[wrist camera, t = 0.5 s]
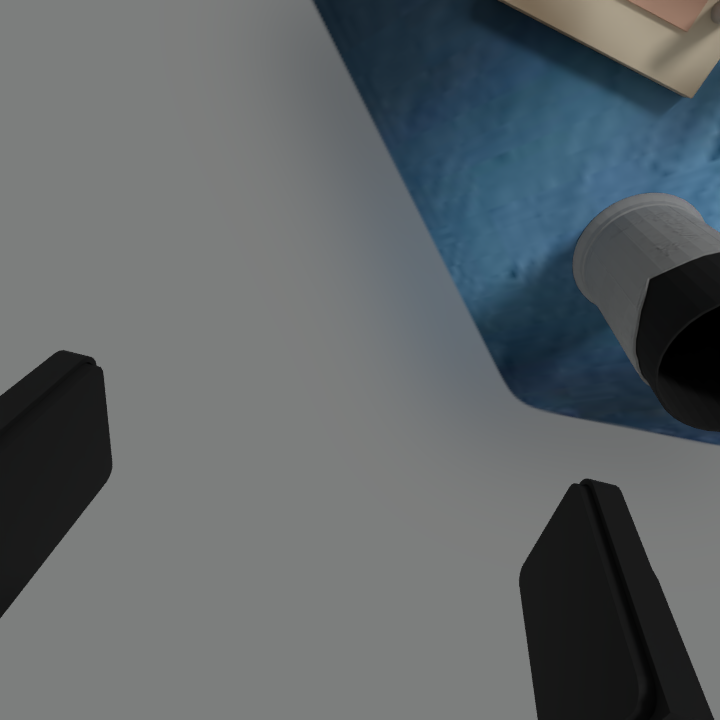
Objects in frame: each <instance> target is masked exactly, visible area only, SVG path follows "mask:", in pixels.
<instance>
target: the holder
mask: <svg viewBox="0 0 720 720" xmlns="http://www.w3.org/2000/svg"><path fill="white" fill-rule="evenodd" d="M573 274H574V279H575V281H576V284H577V286H578V288H579V289H580V291H581V292H582V294H583V295H584V296H585V297H586V298H587V299H588V300H589V301H590V302H592V303H593V304H595V305H597V306H598V308H599V310H600V311H601V313H602V315H603V316H604V318H605V320H606V321H607V323H608V325H609V326H610V328H611V330H612V331H613V333H614V335H615V336H616V338H617V339H618V341H619V343H620V344H621V346H622V348H623V349H624V351H625V353H626V354H627V356H628V358H629V359H630V361H631V363H632V364H633V366H634V368H635V369H636V371H637V373H638V374H639V376H640V377H641V379H642V380H643V381H644V382H645V383H646V384H648V385H649V386H650V387H651V388H652V390H653V392H654V393H655V395H656V396H657V398H658V400H659V401H660V403H661V404H662V406H663V407H664V409H665V410H666V411H667V412H668V413H669V414H670V415H671V416H673V417H674V418H675V419H677V420H679V421H680V422H682V423H684V424H686V425H689V426H691V427H694V428H698V429H702V430H707V431H717V432H720V233H719V232H718V231H716V230H715V229H713V228H712V227H710V226H709V225H707V224H706V223H705V222H704V220H703V218H702V216H701V214H700V213H699V212H698V211H697V210H696V209H695V208H694V206H692V205H691V204H690V203H688V202H687V201H685V200H684V199H681V198H679V197H676V196H674V195H669V194H664V193H645V194H638V195H635V196H631V197H628V198H625V199H623V200H621V201H618V202H616V203H614V204H612V205H611V206H609V207H608V208H606V209H605V210H603V211H602V212H601V213H600V214H599V215H597V216H596V217H595V218H594V219H593V220H592V221H591V222H590V224H589V225H588V226H587V227H586V228H585V230H584V231H583V233H582V235H581V236H580V238H579V240H578V243H577V245H576V247H575V251H574V256H573Z"/></svg>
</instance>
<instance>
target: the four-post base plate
mask: <svg viewBox="0 0 720 720" xmlns="http://www.w3.org/2000/svg"><path fill="white" fill-rule="evenodd" d="M498 1H500V2H502V3H504V4H506V5H508V6H510V7H512V8H514V9H516V10H518V11H520V12H521V13H523V14H525V15H527V16H529V17H531V18H533V19H535V20H537V21H539V22H541V23H543V24H545V25H546V26H548V27H550V28H552V29H554V30H556V31H558V32H560V33H562V34H564V35H566V36H568V37H570V38H571V39H573V40H575V41H577V42H579V43H581V44H583V45H585V46H587V47H589V48H591V49H593V50H594V51H596V52H598V53H600V54H602V55H604V56H606V57H608V58H610V59H612V60H614V61H616V62H618V63H619V64H621V65H623V66H625V67H627V68H629V69H631V70H633V71H635V72H637V73H639V74H641V75H642V76H644V77H646V78H648V79H650V80H652V81H654V82H656V83H658V84H660V85H662V86H664V87H666V88H667V89H669V90H671V91H673V92H675V93H677V94H679V95H681V96H683V97H687V98H693V96H694V95H695V93H696V92H697V90H698V89H699V88H700V86H701V85H702V83H703V82H704V80H705V79H706V78H707V76H708V75H709V73H710V72H711V71H712V69H713V68H714V66H715V65H716V63H717V62H718V61H719V59H720V0H498Z"/></svg>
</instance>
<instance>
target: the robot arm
mask: <svg viewBox="0 0 720 720" xmlns="http://www.w3.org/2000/svg"><path fill="white" fill-rule="evenodd" d="M111 470H112V455H111V445H110V436H109V425H108V416H107V405H106V395H105V386H104V376H103V370H102V369H101V367H98V366H97V365H96V361H95V360H94V359H93V358H92V357H89V356H85V355H81V354H77V353H73V352H69V351H65V350H62V351H58V352H56V353H55V354H53V355H52V356H51V357H49V358H48V359H47V360H46V361H44V362H43V363H42V364H41V365H39V366H38V367H37V368H35V369H34V370H33V371H32V372H30V373H29V374H28V375H27V376H25V377H24V378H23V379H21V380H20V381H19V382H18V383H16V384H15V385H14V386H12V387H11V388H10V389H9V390H7V391H6V392H5V393H4V394H2V395H1V396H0V618H1V617H2V615H3V614H4V613H5V611H6V610H7V609H8V608H9V606H10V605H11V604H12V603H13V601H14V600H15V599H16V597H17V596H18V595H19V594H20V592H21V591H22V590H23V588H24V587H25V586H26V585H27V583H28V582H29V581H30V579H31V578H32V577H33V576H34V574H35V573H36V572H37V570H38V569H39V568H40V567H41V565H42V564H43V563H44V561H45V560H46V559H47V557H48V556H49V555H50V554H51V552H52V551H53V550H54V548H55V547H56V546H57V545H58V544H59V542H60V541H61V540H62V538H63V537H64V536H65V535H66V533H67V532H68V531H69V529H70V528H71V527H72V525H73V524H74V523H75V522H76V520H77V519H78V518H79V516H80V515H81V514H82V513H83V511H84V510H85V509H86V507H87V506H88V505H89V504H90V502H91V501H92V500H93V499H94V497H95V496H96V495H97V493H98V492H99V491H100V490H101V488H102V487H103V486H104V484H105V483H106V482H107V480H108V478H109V476H110V474H111ZM519 587H520V594H521V601H522V608H523V615H524V623H525V630H526V636H527V644H528V651H529V659H530V666H531V673H532V680H533V688H534V695H535V702H536V710H537V717H538V720H714V718H713V716H712V713H711V711H710V708H709V706H708V703H707V701H706V698H705V696H704V693H703V691H702V688H701V686H700V683H699V681H698V678H697V676H696V673H695V671H694V668H693V666H692V663H691V661H690V658H689V656H688V653H687V651H686V648H685V646H684V643H683V641H682V638H681V636H680V633H679V631H678V628H677V626H676V623H675V621H674V618H673V616H672V613H671V611H670V608H669V606H668V603H667V601H666V598H665V596H664V593H663V591H662V588H661V586H660V583H659V581H658V579H657V577H656V575H655V573H654V571H653V570H652V568H651V566H650V563H649V560H648V558H647V555H646V553H645V550H644V547H643V545H642V542H641V540H640V537H639V535H638V532H637V530H636V527H635V525H634V522H633V520H632V517H631V515H630V512H629V510H628V507H627V505H626V502H625V500H624V497H623V495H622V492H621V490H620V489H619V487H617V486H616V485H611V484H608V483H604V482H599V481H596V480H591V479H584V480H582V481H581V482H580V484H575V483H574V484H572V485H571V486H570V487H569V489H568V491H567V492H566V494H565V496H564V497H563V499H562V501H561V502H560V504H559V506H558V507H557V509H556V511H555V512H554V514H553V516H552V518H551V519H550V521H549V522H548V524H547V526H546V527H545V529H544V531H543V532H542V534H541V536H540V538H539V539H538V541H537V543H536V544H535V546H534V547H533V549H532V551H531V552H530V554H529V556H528V557H527V559H526V561H525V563H524V564H523V566H522V568H521V572H520V577H519Z"/></svg>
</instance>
